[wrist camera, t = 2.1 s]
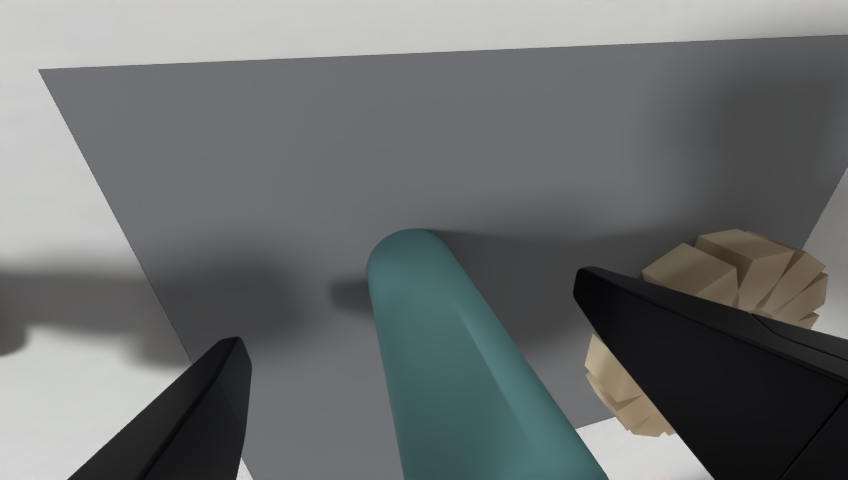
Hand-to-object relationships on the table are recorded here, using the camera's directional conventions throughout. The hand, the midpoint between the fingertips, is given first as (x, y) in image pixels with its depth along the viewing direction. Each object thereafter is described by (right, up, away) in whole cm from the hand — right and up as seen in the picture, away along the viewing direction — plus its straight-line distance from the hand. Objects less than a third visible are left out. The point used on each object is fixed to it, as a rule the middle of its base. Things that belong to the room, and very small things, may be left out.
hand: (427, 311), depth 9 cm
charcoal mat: (+5, 0, +5) cm, 7 cm away
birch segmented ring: (+12, -2, +7) cm, 14 cm away
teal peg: (-1, +1, +2) cm, 2 cm away
